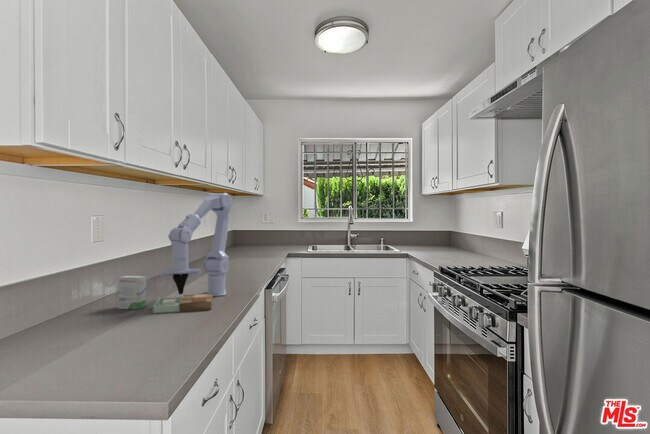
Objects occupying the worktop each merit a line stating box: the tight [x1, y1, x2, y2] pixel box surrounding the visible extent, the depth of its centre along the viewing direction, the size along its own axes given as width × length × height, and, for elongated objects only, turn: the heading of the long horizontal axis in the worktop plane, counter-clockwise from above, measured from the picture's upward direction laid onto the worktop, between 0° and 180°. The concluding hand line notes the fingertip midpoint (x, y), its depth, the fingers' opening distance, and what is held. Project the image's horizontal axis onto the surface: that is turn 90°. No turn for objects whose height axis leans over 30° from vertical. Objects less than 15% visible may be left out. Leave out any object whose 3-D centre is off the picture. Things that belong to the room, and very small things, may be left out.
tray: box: [152, 296, 183, 314], centre depth 138 cm, size 13×9×2 cm
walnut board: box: [179, 293, 214, 313], centre depth 140 cm, size 13×11×3 cm
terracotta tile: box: [193, 293, 207, 302], centre depth 138 cm, size 4×4×2 cm
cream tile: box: [162, 299, 176, 306], centre depth 140 cm, size 4×4×2 cm
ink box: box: [117, 275, 147, 310], centre depth 138 cm, size 9×5×12 cm, turn 84°
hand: (181, 293), depth 142 cm, fingers closed
